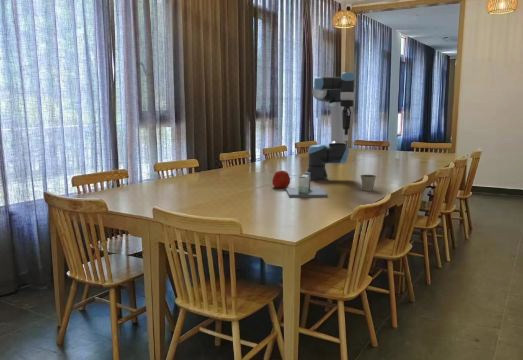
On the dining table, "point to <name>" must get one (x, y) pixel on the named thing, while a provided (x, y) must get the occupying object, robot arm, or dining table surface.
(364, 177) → the flower pot
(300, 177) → the white slab
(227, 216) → the dining table surface
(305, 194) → the dial plate
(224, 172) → the dining table surface
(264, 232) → the dining table surface
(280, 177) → the apple
